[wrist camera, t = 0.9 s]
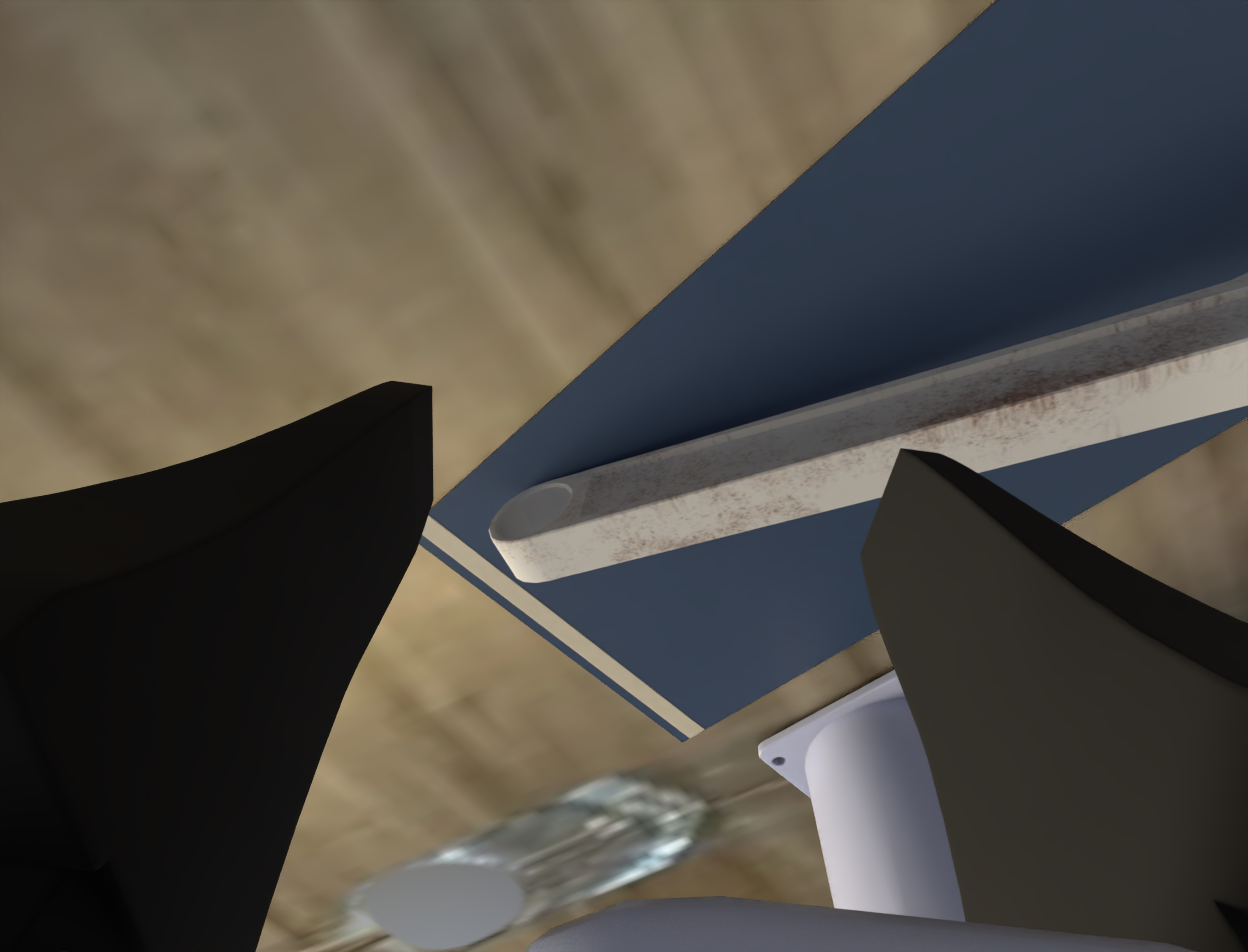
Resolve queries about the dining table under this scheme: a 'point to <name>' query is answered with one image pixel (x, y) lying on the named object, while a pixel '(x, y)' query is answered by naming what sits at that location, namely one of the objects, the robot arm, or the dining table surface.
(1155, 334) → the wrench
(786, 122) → the dining table surface
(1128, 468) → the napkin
